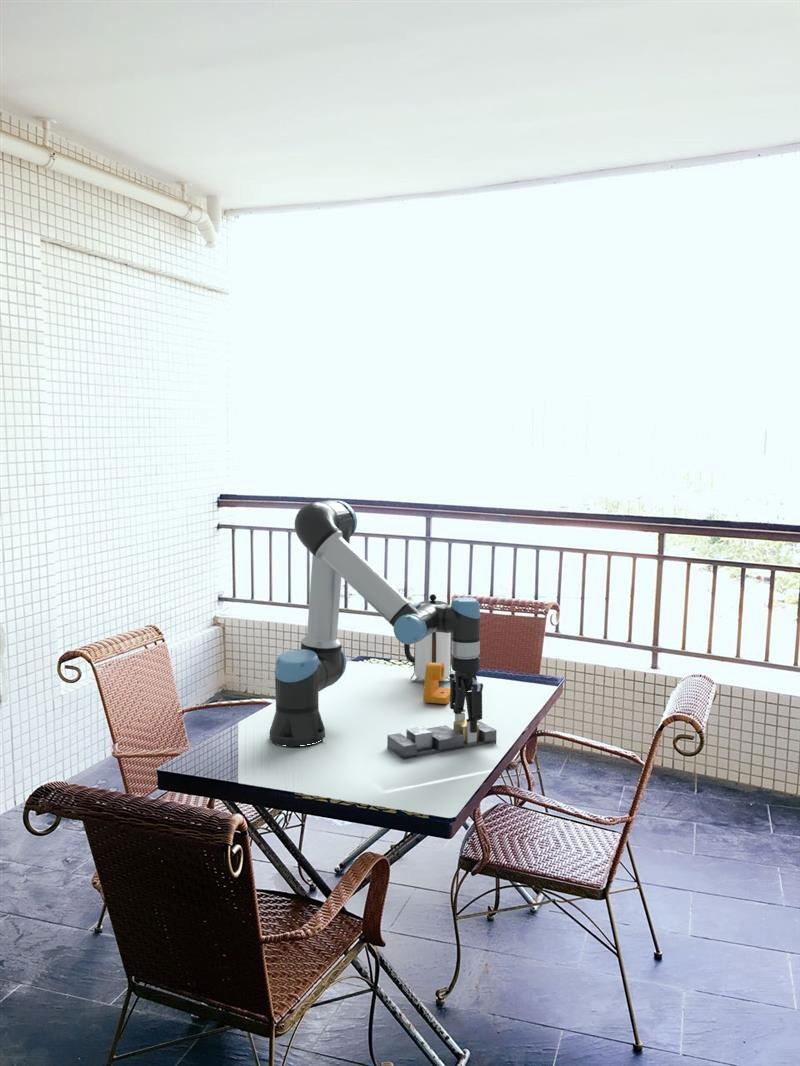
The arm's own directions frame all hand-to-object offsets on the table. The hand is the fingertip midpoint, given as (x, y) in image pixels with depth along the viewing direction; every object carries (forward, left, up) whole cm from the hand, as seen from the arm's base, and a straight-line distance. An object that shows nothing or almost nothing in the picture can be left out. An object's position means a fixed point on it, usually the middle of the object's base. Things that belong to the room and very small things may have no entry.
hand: (465, 740), depth 233 cm
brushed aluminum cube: (-14, 0, 0) cm, 14 cm away
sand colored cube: (0, 0, 0) cm, 0 cm away
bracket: (+13, +37, -1) cm, 39 cm away
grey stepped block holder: (-7, 0, -1) cm, 7 cm away
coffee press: (+21, +58, -1) cm, 62 cm away
